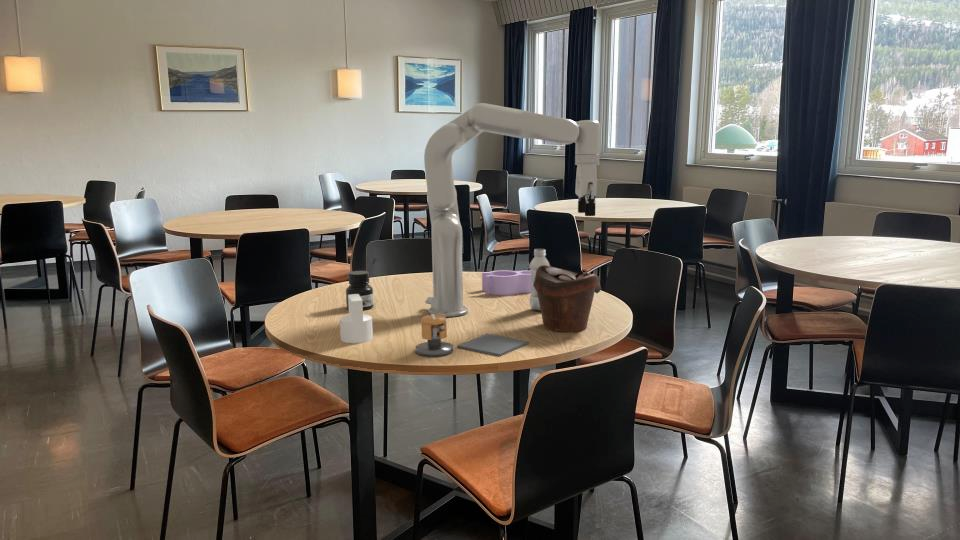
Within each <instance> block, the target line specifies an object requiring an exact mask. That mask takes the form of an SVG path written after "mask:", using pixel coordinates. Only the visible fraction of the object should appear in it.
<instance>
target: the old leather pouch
mask: <svg viewBox="0 0 960 540" xmlns="http://www.w3.org/2000/svg"><path fill="white" fill-rule="evenodd" d="M533 286H534V288H535V290H536V291H537V295H538V299H539V304H540V309H541V311H540V313H541V318H542V323H543V326H544V328H545V329H546V330H549V331H550V330H551V331H553V332H561V333H565V332H566V333H569V332H570V333H571V332H573V333H574V332H581V331H583V330H585V329H587V327H588V322H589V318H590V313H591V310H592V304H593V301H594V295H595V294H598V293H600V292H601V290H602V288H601V284H600V279H599V277H598V276H597V274H595V273H591V274H589V272H588V271H586V270H581V271H579V272H574V271H570V270H566V269H563V268H558V267H554V266H551V265H550V266H546V265H543V266H540V267H539V268H538V269H537V271H536V276H535V280H534V283H533Z"/></svg>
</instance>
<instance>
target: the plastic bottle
mask: <svg viewBox="0 0 960 540" xmlns="http://www.w3.org/2000/svg"><path fill="white" fill-rule="evenodd" d="M546 251H547V250H546V249H545V248H534V250H533V256H534V257H533V258H532V259H531V261H530V263H529V270H530V274H531V282H532V283H531V293H530V297H529V305H530V306H529V307H530V308H531V310H534V311H539V312H541V309H540V304H539V299H538V295H537V291H536V290H535V288H534V286H533V283H534V280H535V276H536V271H537V269H538V268H539V267H540V266H543V265H546V266H551V264H550V262H549V260H548V259H547V257H546V256H547V253H546Z"/></svg>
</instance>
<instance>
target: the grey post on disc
mask: <svg viewBox="0 0 960 540" xmlns="http://www.w3.org/2000/svg"><path fill="white" fill-rule="evenodd" d="M442 329H444V325H441V324H440V325H431V337H432V340H427V339H426V341H425V342H422V343H419V344H417V345H416V346H415V353H416V355H419V356H422V357H426V358H427V357H428V358H438V357H445V356H448V355H450V354H451V355H452V354H453V352H454V344H452V343H449V342H447V341H446V342H445V341H442V339H440V334H439V331H441V330H442Z"/></svg>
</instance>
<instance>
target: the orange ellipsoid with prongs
mask: <svg viewBox="0 0 960 540" xmlns="http://www.w3.org/2000/svg"><path fill="white" fill-rule="evenodd" d="M420 323H421V325H420V326H421V338H422V339H423V340H426V341H427V340H432V337H431V325H440V324H441V325H444V329H442V330H441V331H439V334H440V339H441V340H443V339H446V338H447V335H448V332H447V329H448V328H447V317H445V316H443V315H434V314H432V315H431V314H425V315H424V316H421V322H420Z"/></svg>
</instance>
